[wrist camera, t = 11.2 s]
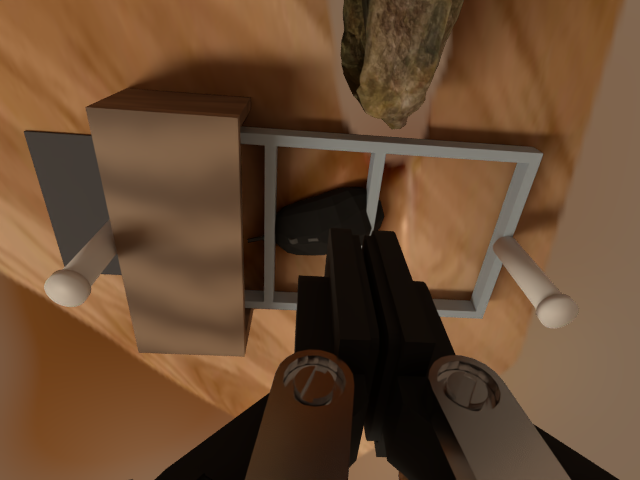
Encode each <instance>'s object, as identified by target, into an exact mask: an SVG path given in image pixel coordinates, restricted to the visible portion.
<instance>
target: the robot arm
mask: <svg viewBox="0 0 640 480" xmlns="http://www.w3.org/2000/svg"><path fill="white" fill-rule="evenodd" d="M363 426H364V429H365V436H366V440H367V441H374V444H375V450H376V457H387V461H388V462H389V463H390V464H392V465H393V466H394V467H395V468H396V469H397V470H398V471H399V474H398V477H399V480H619V479H617V478H616V477H614V476H613V475H611V474H610V473H608V472H607V471H605V470H604V469H602V468H600V467H599V466H597V465H596V464H594V463H593V462H591V461H590V460H588V459H587V458H585V457H583V456H582V455H580V454H579V453H577V452H576V451H574V450H573V449H571V448H569V447H568V446H566V445H565V444H563V443H562V442H560V441H559V440H557V439H556V438H554V437H553V436H551V435H549V434H548V433H546V432H545V431H543V430H542V429H540V428H539V427H537V426H535V425H534V424H532V422H531V421H530V419H529V418H528V416H527V415H526V413H525V412H524V410H523V409H522V407H521V406H520V405H519V403H518V402H517V400H516V399H515V397H514V396H513V395H512V393H511V392H510V390H509V389H508V387H507V386H506V384H505V383H504V381H503V380H502V379H501V378H500V377H499V376H498V374H497V373H496V372H495V371H493V370H492V369H491V368H489V367H488V366H487V365H485V364H483V363H481V362H479V361H477V360H475V359H473V358H469V357H465V356H460V355H455V353H454V350H453V348H452V345H451V343H450V340H449V338H448V336H447V333H446V331H445V328H444V326H443V324H442V321H441V319H440V316H439V314H438V311H437V309H436V307H435V304H434V302H433V299H432V297H431V294H430V292H429V290H428V287H427V285H426V284H425V283H424V282H419V281H413V280H412V277H411V274H410V272H409V269H408V266H407V264H406V261H405V258H404V256H403V253H402V250H401V247H400V245H399V242H398V239H397V237H396V234H395V232H393V231H377V230H373V231H372V233H371V236H369V235H365V236H364V238H363V244H362V248H361V243H360V238H359V235H352V231H351V229H341V228H330V229H329V236H328V246H327V256H326V266H325V276H324V277H319V276H299V278H298V294H297V311H296V331H295V352H294V354H292V355H290V356H288V357H287V358H286V359H285V360H284V361H283V362H282V363H280V365H279V367H278V369H277V371H276V373H275V376H274V380H273V383H272V387H271V390H270V393H269V394H267V395H266V396H264V397H263V398H262V399H260V400H259V401H258V402H256V403H255V404H254V405H252V406H251V407H250V408H248V409H247V410H245V411H244V412H243V413H241V414H240V415H239V416H237V417H236V418H235V419H233V420H232V421H231V422H229V423H228V424H226V425H225V426H224V427H222V428H221V429H220V430H218V431H217V432H216V433H214V434H213V435H212V436H210V437H209V438H207V439H206V440H205V441H204V442H202V443H201V444H199V445H198V446H197V447H195V448H194V449H193V450H191V451H190V452H189V453H187V454H186V455H184V456H183V457H182V458H180V459H179V460H178V461H176V462H175V463H174V464H172V465H171V466H170V467H168V468H167V469H166V470H165V471H163V472H162V473H161V474H160V475H159V476H158V477H157V478H156V479H155V480H348V474H349V473H348V472H349V467H350V466H351V465H352V464H353V463H354V462H355V461H356V459H357V454H358V450H359V445H360V440H361V436H362V431H363ZM131 480H133V479H131Z"/></svg>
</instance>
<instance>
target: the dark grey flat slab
mask: <svg viewBox="0 0 640 480" xmlns="http://www.w3.org/2000/svg"><path fill="white" fill-rule="evenodd" d="M24 134H25V137H26V141H27V144H28V147H29V151H30V154H31V157H32V160H33V164H34V167H35V170H36V174H37V177H38V180H39V184H40V187H41V190H42V194H43V197H44V200H45V203H46V207H47V210H48V213H49V217H50V220H51V223H52V227H53V230H54V233H55V237H56V240H57V243H58V246H59V250H60V253H61V256H62V260H63V263H64V266H66V265H67V264H68V263H69V262H70V261H71V260H72V259H73V258H74V257H75V256H76V255H77V254H78V253H79V252H80V250H81V249H82V248H83V247H84V246H85V245H86V244H87V243H88V242H89V241H90V240H91V239H92V238H93V237H94V235H95V234H96V233H97V232H98V231H99V230H100V229H101V228H102V227H103V226H104V225H105V224H106V223H107V222H108V221H109V219H110V218H109V213H108V209H107V204H106V199H105V195H104V190H103V186H102V181H101V176H100V172H99V167H98V162H97V158H96V153H95V149H94V144H93V139H92V135H78V134H63V133H48V132H33V131H24ZM101 274H112V275H122V273H121V269H120V264H119V259H118V255H117V254H116V255H115V256H114V257H113V259H112V260H111V261H110V263H109V264H108V265H107V266H106V268H105V269H104V270H103V272H102V273H101Z"/></svg>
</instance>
